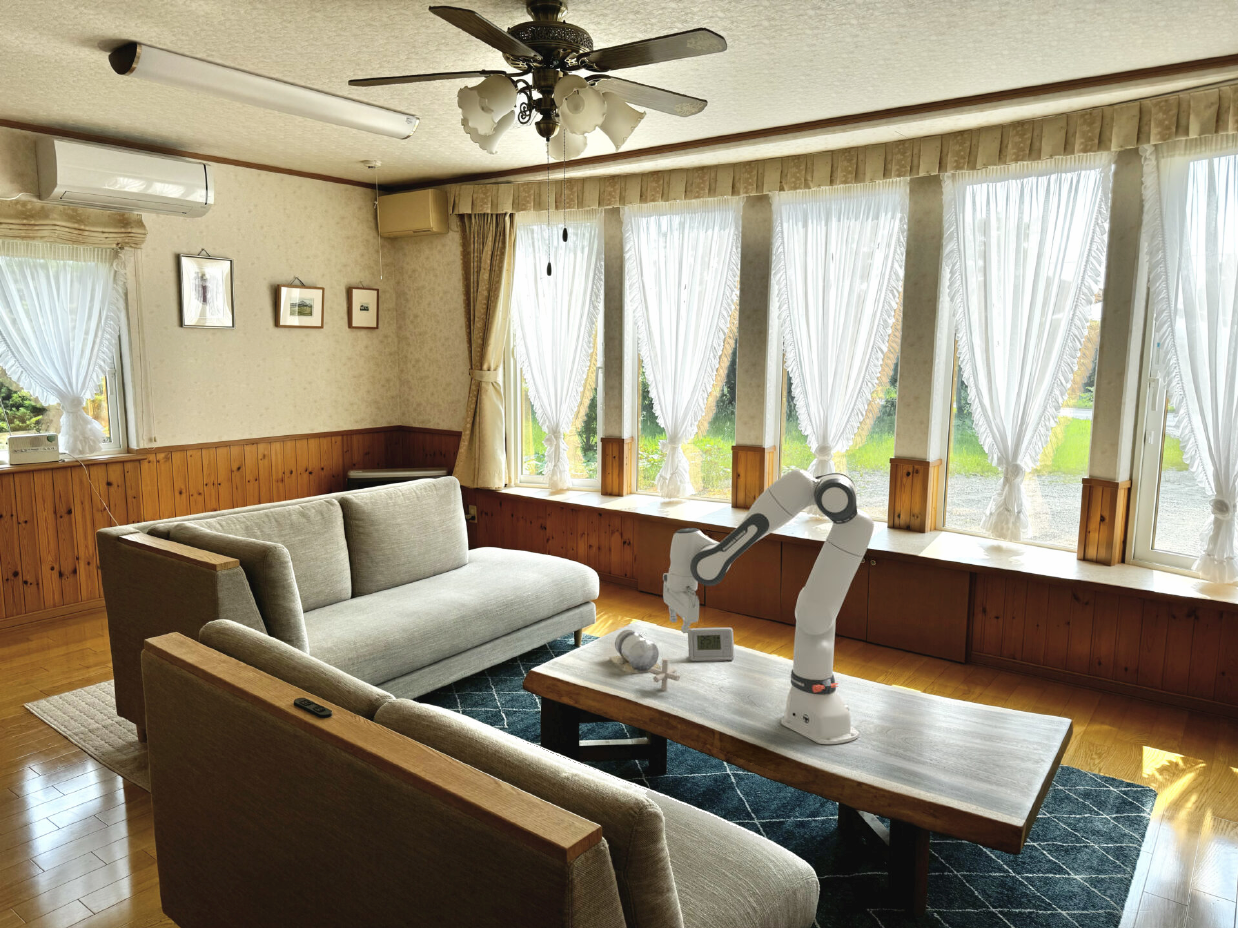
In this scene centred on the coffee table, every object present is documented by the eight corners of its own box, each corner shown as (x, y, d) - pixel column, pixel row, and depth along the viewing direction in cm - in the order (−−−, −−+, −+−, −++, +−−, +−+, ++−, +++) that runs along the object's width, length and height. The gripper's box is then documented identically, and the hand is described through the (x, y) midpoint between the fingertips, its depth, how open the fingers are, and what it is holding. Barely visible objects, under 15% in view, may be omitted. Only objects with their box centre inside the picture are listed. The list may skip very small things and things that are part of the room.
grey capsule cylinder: (661, 669, 277) (662, 638, 275) (625, 674, 272) (626, 643, 270) (643, 655, 290) (644, 625, 288) (609, 659, 285) (609, 629, 283)
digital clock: (687, 662, 284) (688, 632, 283) (686, 653, 293) (687, 623, 292) (735, 664, 284) (736, 634, 282) (732, 655, 293) (734, 625, 291)
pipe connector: (668, 699, 253) (669, 667, 252) (641, 690, 259) (642, 659, 258) (686, 689, 261) (687, 658, 260) (660, 681, 267) (661, 650, 266)
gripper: (706, 592, 238) (702, 638, 240) (680, 572, 257) (676, 615, 259) (685, 592, 236) (681, 639, 238) (661, 572, 255) (657, 616, 257)
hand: (678, 626), depth 249 cm, fingers open, 8 cm apart
